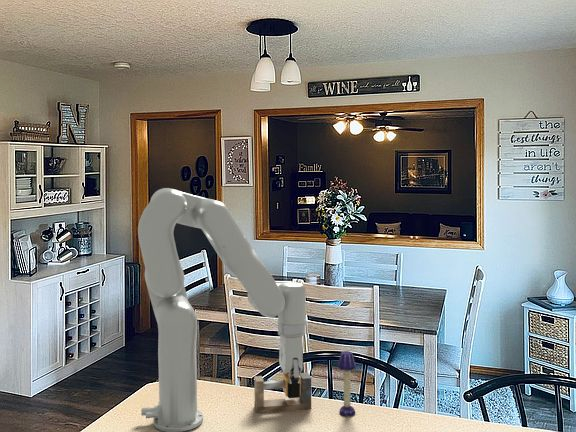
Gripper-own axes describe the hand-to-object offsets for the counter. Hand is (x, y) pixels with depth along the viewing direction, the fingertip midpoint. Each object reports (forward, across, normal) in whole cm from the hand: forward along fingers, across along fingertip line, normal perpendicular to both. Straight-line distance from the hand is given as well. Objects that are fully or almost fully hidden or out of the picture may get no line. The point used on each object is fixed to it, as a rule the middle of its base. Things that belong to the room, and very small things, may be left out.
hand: (291, 392), depth 155 cm
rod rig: (+4, 0, -2) cm, 5 cm away
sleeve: (0, 0, 0) cm, 0 cm away
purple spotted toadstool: (+4, +7, +14) cm, 16 cm away
